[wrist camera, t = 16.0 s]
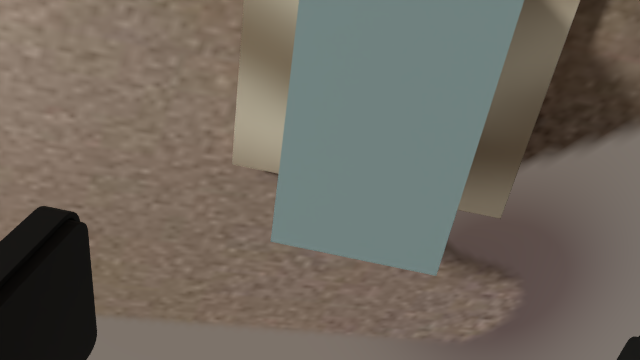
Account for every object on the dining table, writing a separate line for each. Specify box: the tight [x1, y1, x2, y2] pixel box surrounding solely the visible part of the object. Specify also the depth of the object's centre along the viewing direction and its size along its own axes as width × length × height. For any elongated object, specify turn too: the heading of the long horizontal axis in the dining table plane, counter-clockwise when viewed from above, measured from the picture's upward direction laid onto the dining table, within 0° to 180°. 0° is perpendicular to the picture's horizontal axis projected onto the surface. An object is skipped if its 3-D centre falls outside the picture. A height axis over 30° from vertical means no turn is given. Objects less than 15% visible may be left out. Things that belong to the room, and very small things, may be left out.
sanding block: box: [271, 0, 524, 276], centre depth 20 cm, size 10×6×7 cm, turn 172°
